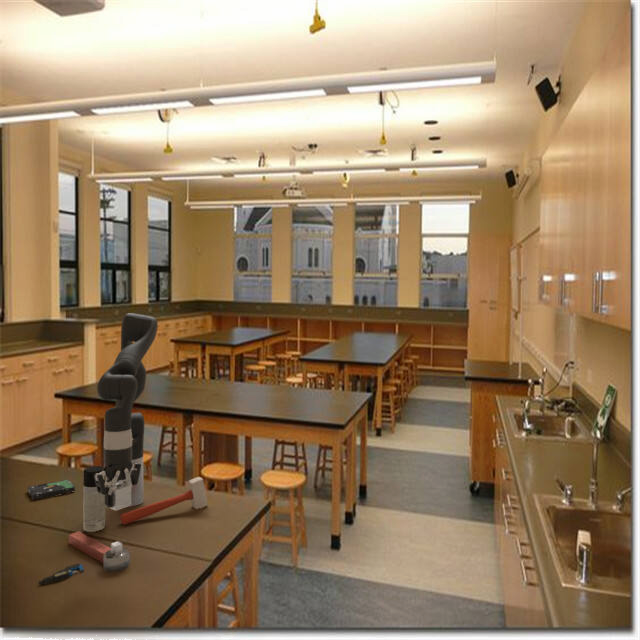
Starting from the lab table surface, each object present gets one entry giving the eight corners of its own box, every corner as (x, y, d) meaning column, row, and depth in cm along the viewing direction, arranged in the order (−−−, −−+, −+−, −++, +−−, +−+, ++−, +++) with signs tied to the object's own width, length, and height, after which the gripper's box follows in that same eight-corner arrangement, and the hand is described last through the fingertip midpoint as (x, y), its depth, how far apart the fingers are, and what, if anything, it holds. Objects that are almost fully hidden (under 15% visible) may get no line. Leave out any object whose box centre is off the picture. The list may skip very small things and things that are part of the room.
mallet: (120, 509, 179) (204, 478, 196) (117, 505, 182) (200, 475, 199) (125, 538, 180) (208, 505, 197) (122, 534, 183) (204, 502, 200)
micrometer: (80, 560, 154) (86, 567, 150) (80, 567, 154) (86, 574, 150) (35, 574, 146) (40, 581, 142) (34, 581, 146) (40, 588, 142)
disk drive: (32, 502, 200) (75, 493, 209) (32, 495, 199) (75, 486, 209) (27, 493, 208) (68, 485, 217) (27, 486, 207) (68, 478, 217)
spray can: (100, 522, 182) (100, 464, 181) (108, 528, 178) (108, 469, 177) (80, 528, 178) (79, 468, 177) (88, 534, 173) (87, 473, 172)
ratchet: (62, 545, 165) (62, 525, 165) (84, 537, 171) (84, 517, 171) (112, 574, 149) (112, 551, 149) (134, 564, 155) (134, 542, 155)
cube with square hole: (105, 506, 153) (105, 485, 153) (121, 501, 157) (121, 481, 157) (115, 510, 150) (115, 489, 150) (131, 505, 154) (131, 484, 154)
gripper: (132, 437, 161) (132, 493, 161) (87, 448, 149) (87, 508, 150) (147, 441, 156) (147, 499, 157) (102, 452, 145) (102, 515, 145)
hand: (118, 503), depth 153 cm, fingers closed on cube with square hole, 5 cm apart
